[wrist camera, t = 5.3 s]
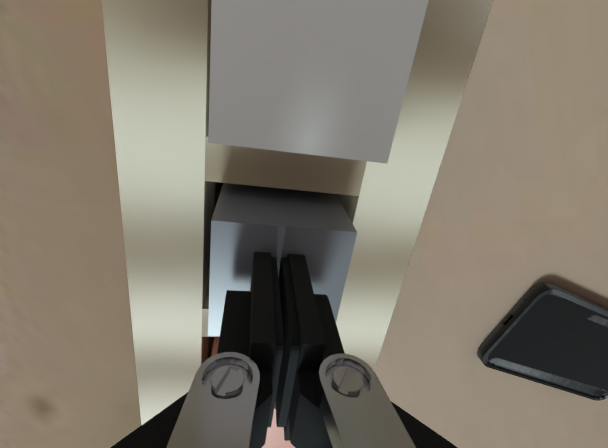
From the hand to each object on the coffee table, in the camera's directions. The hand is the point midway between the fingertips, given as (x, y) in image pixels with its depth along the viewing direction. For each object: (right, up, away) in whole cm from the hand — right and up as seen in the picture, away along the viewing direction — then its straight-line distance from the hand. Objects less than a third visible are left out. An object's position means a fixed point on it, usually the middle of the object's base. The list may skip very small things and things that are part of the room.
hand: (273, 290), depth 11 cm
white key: (+1, +8, +1) cm, 8 cm away
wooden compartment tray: (-1, +4, +7) cm, 8 cm away
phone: (+22, -7, +16) cm, 28 cm away
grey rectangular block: (0, +3, +5) cm, 6 cm away
